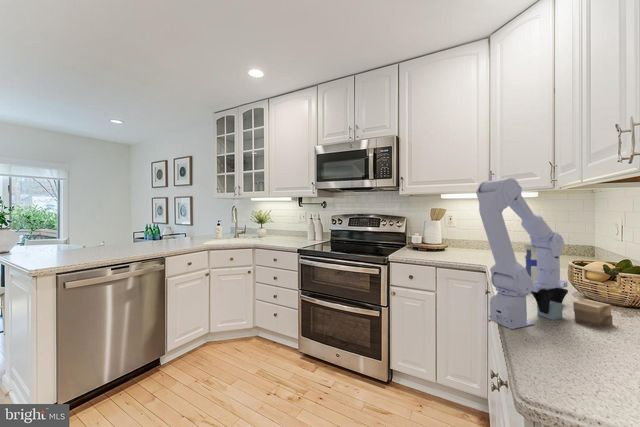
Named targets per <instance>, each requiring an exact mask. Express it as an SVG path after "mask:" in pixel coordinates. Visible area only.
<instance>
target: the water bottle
mask: <svg viewBox="0 0 640 427" xmlns="http://www.w3.org/2000/svg"><path fill="white" fill-rule="evenodd" d="M522 248H523V249H525V256H524V259H525V265H524V268H526V270H527V273H528V275H529V276H530V277H531V278H532V281H533V284H534V283H535V282H537V253H536V248H535V247H534V246H532V244H531V242H524V243H523V245H522Z"/></svg>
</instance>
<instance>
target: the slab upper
mask: <svg viewBox="0 0 640 427" xmlns="http://www.w3.org/2000/svg"><path fill="white" fill-rule="evenodd" d="M572 303H573V305H572V306H573V307H572V308H573V312H574V313H575V312H578V313H581V314H585V315H589V316H592V317H596V318H601V317H605V316H610V315H612V304H608V303H604V302H600V301H596V300H591V299H580V300H574V301H573V302H572Z"/></svg>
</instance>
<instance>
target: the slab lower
mask: <svg viewBox="0 0 640 427" xmlns="http://www.w3.org/2000/svg"><path fill="white" fill-rule="evenodd" d="M575 321H576V322H579V323H581V324H582V323H583V324H586V325H588V326H592V327H596V328H598V329H599V328H604V327H608V326H612V325H614V323H613V315H612V314H611V315H610V316H605V317H601V318H596V317H592V316H589V315H585V314H581V313H578V312H574V322H575Z"/></svg>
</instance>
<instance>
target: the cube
mask: <svg viewBox="0 0 640 427" xmlns="http://www.w3.org/2000/svg"><path fill="white" fill-rule="evenodd" d="M536 308H537V309H536V310H537V311H536V313H537V316H540V317H543V318H547V319H550V320H551V321H552V320H558V319H561V318H563V302H562V303H558V302H554V301H550V304H549V312H548V314H545V313H542V312H540V310H539V307H538V304H537V303H536Z"/></svg>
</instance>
